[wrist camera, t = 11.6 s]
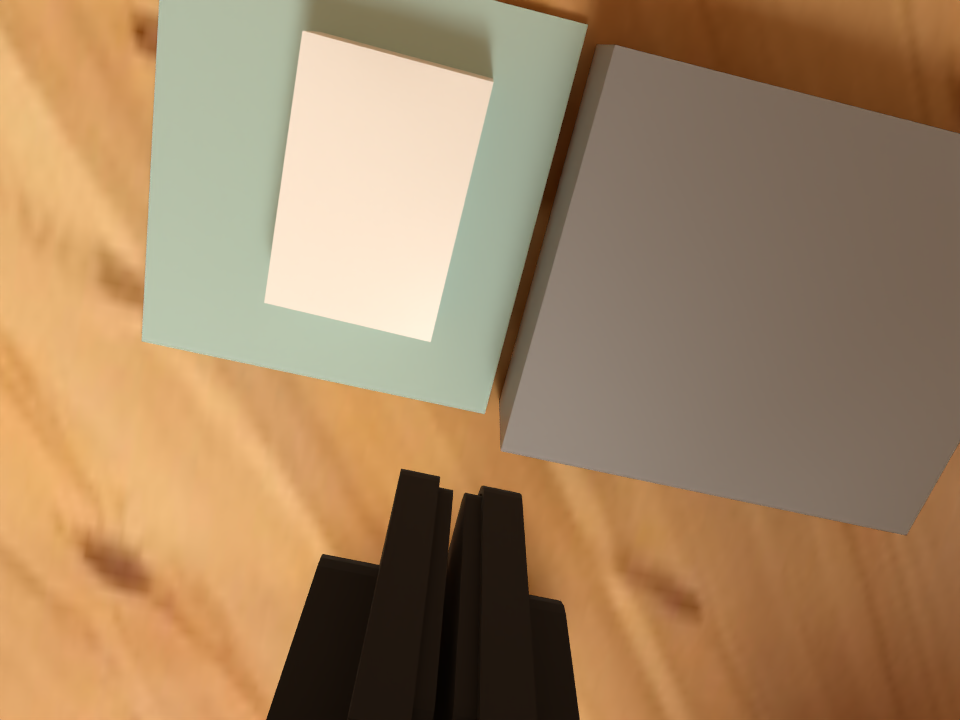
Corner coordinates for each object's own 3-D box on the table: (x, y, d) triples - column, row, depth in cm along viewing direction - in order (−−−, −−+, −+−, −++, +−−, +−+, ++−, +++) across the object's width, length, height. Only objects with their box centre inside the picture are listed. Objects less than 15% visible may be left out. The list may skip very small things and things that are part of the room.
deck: (1025, 154, 26) (1112, 172, 23) (857, 478, 32) (906, 535, 28) (596, 44, 25) (615, 45, 21) (499, 401, 30) (500, 450, 27)
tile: (302, 30, 22) (319, 31, 24) (264, 302, 26) (282, 281, 28) (493, 82, 23) (493, 78, 25) (430, 342, 26) (435, 317, 29)
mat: (586, 25, 25) (588, 24, 24) (484, 409, 31) (484, 414, 30) (168, -84, 24) (163, -86, 23) (146, 337, 29) (141, 341, 29)
